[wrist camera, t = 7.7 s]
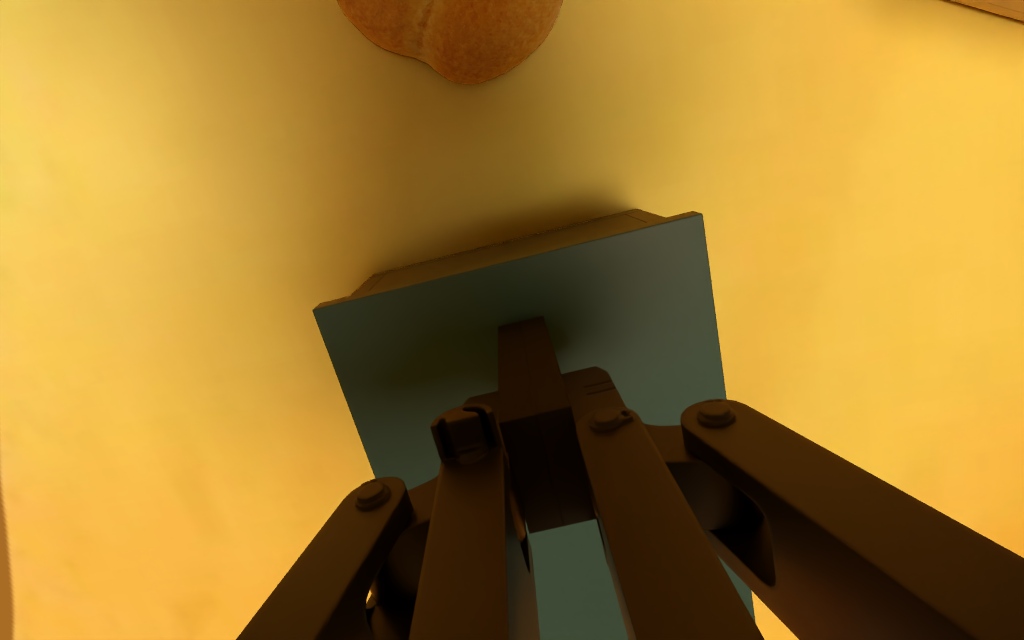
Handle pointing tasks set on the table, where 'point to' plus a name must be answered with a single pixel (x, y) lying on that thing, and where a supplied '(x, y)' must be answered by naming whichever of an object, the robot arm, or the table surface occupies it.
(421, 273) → the box
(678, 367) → the lunchbox lid
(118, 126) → the table surface
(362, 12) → the bread roll
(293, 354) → the table surface
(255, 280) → the table surface
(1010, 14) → the small box
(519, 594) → the robot arm
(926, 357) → the table surface
